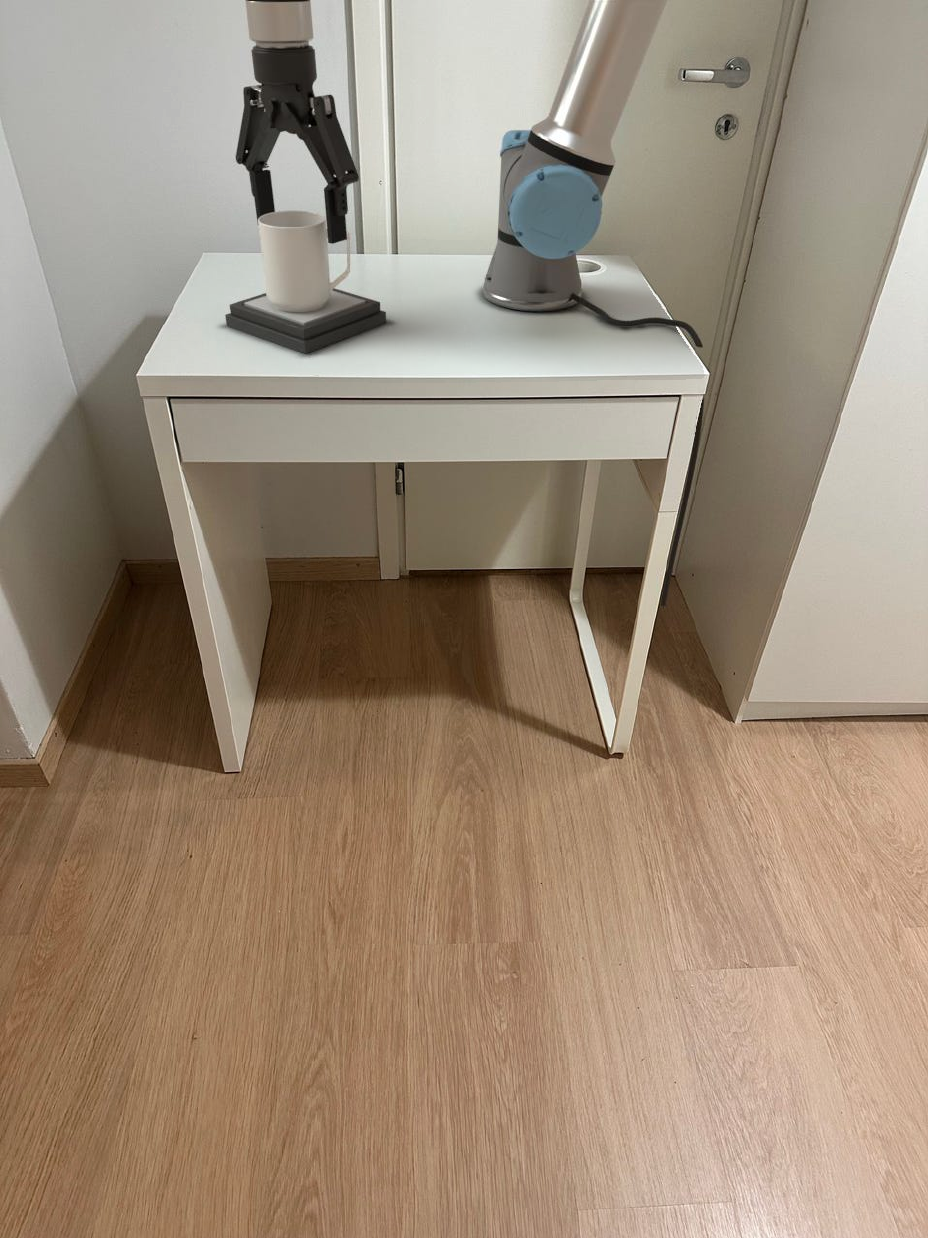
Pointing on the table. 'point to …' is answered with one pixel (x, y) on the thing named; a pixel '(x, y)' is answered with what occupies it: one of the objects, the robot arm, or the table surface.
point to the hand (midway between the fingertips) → (301, 232)
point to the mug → (297, 260)
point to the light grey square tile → (332, 307)
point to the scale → (309, 334)
